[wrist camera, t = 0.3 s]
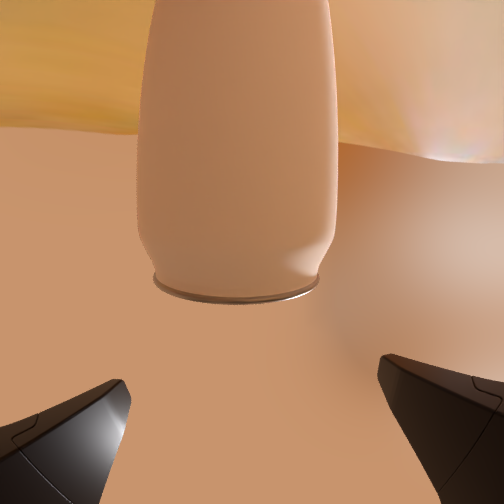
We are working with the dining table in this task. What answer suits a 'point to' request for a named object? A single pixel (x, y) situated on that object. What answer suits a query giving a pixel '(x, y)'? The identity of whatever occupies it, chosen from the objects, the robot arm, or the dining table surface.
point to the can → (238, 148)
